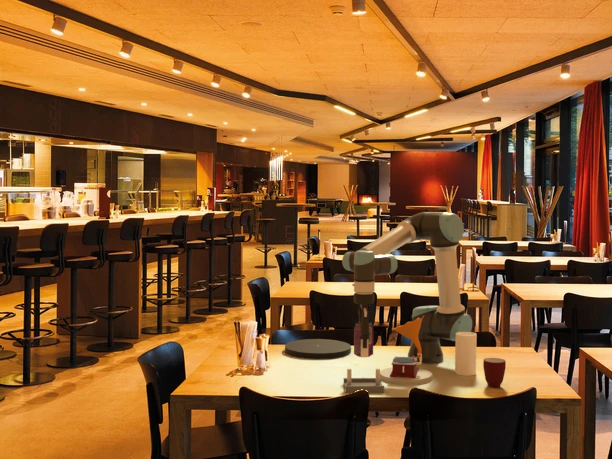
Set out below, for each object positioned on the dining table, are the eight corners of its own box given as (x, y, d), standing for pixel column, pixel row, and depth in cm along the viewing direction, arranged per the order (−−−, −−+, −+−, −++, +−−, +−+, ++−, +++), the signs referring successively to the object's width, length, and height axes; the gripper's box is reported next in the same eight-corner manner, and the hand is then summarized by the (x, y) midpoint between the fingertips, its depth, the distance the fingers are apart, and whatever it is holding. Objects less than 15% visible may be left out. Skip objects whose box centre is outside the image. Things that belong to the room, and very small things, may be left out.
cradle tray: (380, 384, 289) (380, 365, 289) (384, 392, 278) (384, 373, 277) (343, 384, 289) (343, 365, 289) (345, 392, 277) (345, 373, 277)
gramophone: (433, 373, 307) (434, 311, 305) (430, 386, 287) (431, 320, 285) (383, 370, 311) (383, 309, 310) (376, 383, 292) (376, 318, 290)
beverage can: (374, 354, 285) (374, 322, 285) (371, 358, 278) (372, 325, 278) (355, 353, 287) (355, 321, 286) (352, 357, 280) (352, 324, 279)
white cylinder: (477, 371, 309) (477, 332, 308) (474, 376, 301) (475, 336, 300) (456, 369, 312) (457, 331, 311) (453, 374, 304) (454, 334, 303)
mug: (476, 382, 292) (476, 356, 291) (495, 381, 294) (496, 355, 293) (489, 389, 282) (489, 363, 281) (509, 388, 283) (509, 362, 283)
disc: (363, 350, 350) (363, 343, 350) (329, 362, 325) (329, 355, 325) (307, 342, 366) (307, 336, 366) (271, 354, 341) (271, 347, 341)
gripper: (351, 288, 291) (351, 348, 293) (356, 296, 271) (355, 360, 273) (371, 289, 291) (370, 348, 293) (377, 296, 271) (376, 360, 273)
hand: (363, 354), depth 283 cm, fingers closed on beverage can, 7 cm apart
